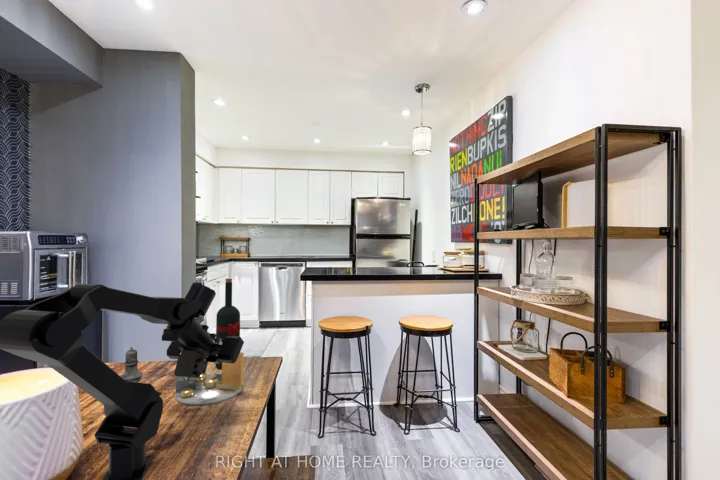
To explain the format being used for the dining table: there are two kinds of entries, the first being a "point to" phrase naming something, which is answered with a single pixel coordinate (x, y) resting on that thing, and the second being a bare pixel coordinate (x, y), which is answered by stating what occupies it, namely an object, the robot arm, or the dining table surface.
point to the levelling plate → (201, 391)
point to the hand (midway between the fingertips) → (219, 362)
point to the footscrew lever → (229, 376)
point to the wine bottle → (227, 318)
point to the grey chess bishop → (131, 367)
